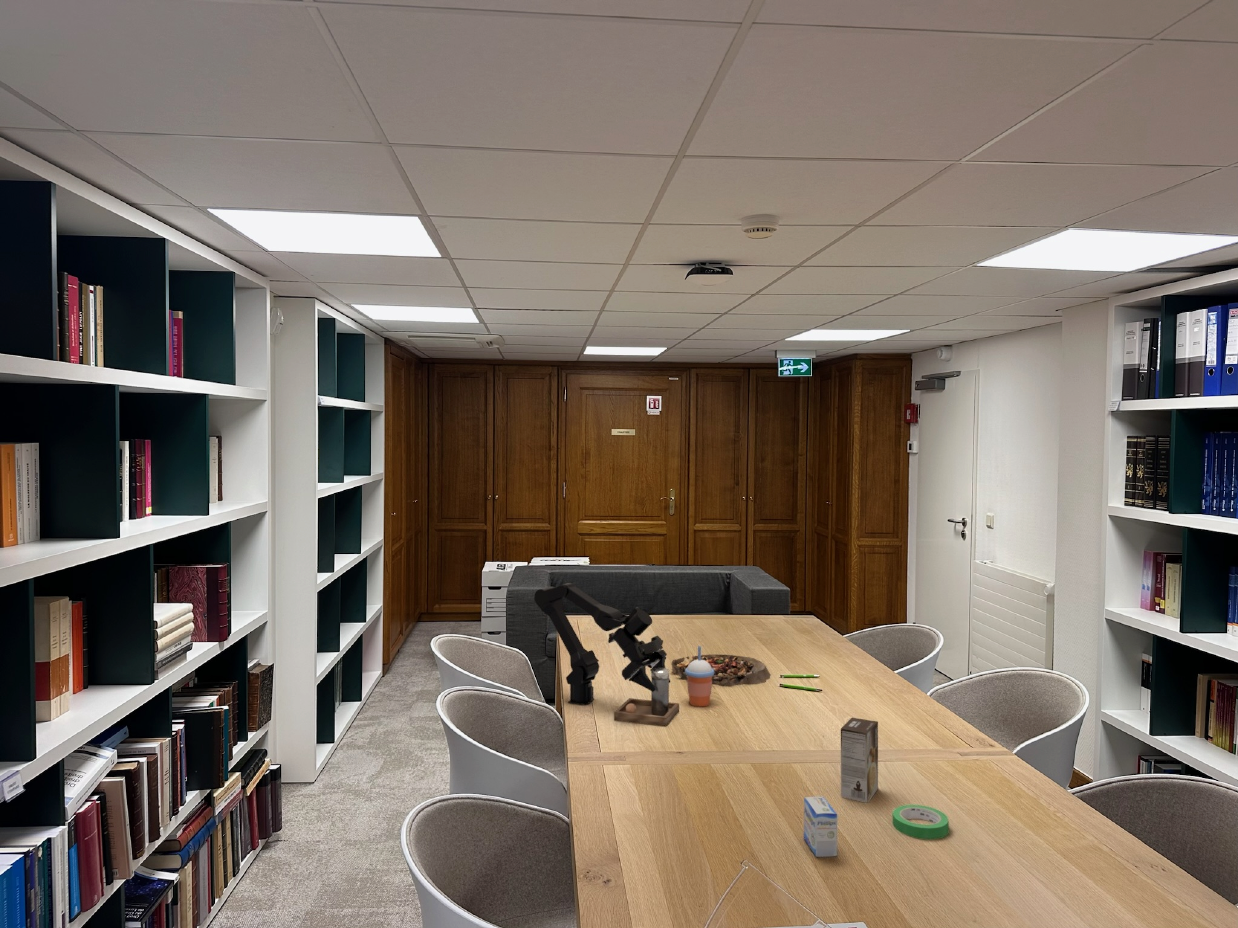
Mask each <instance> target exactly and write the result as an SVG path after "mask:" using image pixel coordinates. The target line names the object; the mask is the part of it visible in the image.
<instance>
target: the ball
mask: <svg viewBox="0 0 1238 928" xmlns="http://www.w3.org/2000/svg"><path fill="white" fill-rule="evenodd" d="M626 712H629V713H635V712H636V706H635V705H634V704H632V703H630V704H628V705H627V706H626Z"/></svg>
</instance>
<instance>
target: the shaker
mask: <svg viewBox="0 0 1238 928" xmlns="http://www.w3.org/2000/svg"><path fill="white" fill-rule="evenodd" d="M669 679H670V670H669V668H667V667H665V668H653V669H652V668H650V681H651V682H652V684H653V685H654V687H655V689H656V690H655V691H654V692H652V691H650V692H651V695H650V696H651V699H650V700H651V714H652V715H656V716H665V715H666V714H667V712H668V711H669V702H670V693H669V692H670V683H669Z"/></svg>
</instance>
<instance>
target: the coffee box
mask: <svg viewBox="0 0 1238 928" xmlns="http://www.w3.org/2000/svg"><path fill="white" fill-rule="evenodd" d="M878 789H879V721H875V720H869V719H864V718H863V719H862V718H858V717H857V718H856V717H851V718H849V719H848V721H846V723H845V724H844V725H842V727H841V728H840V797H841V798H844V799H849V800H853V801H858V802H862V803H866V804H867V803H869V801H870V800H871V798H872V797H873V796H874V795H875V793H876V792H877V791H878Z"/></svg>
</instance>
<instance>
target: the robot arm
mask: <svg viewBox="0 0 1238 928" xmlns="http://www.w3.org/2000/svg"><path fill="white" fill-rule="evenodd" d="M563 598H565V599H566V600H568V601H569V602H571V603H572V604H573V605H575V606H577V607H578V608H580V609H581V610H582V611H584V612H585V613H587V614H588V615H589V616H591V618H592V619H593V621H594V623H595V624H596V625H597V626H598V627H599V628H600V629H601V630H602V631H604V632H610V631H613V630H615V631H614V632H610V633H609V634H608V639H607V640H608V641H607V642H608V644H611V643H613V642H615V643H616V644H617V645H618V647H619V648H620V649H621V651H622V652H623V654H622V656H623V658H624V659H625V658H628V660H629V661H630V662H629V663H628V664H627V665H626V666H625V667H624V668H623V669H622V670H621V676H622V678H623V679H624V680H625V681H627V680H628V681H629V682H632V683H635V684H636V685H640V686H641V687H642V688H645V689H647V690H648V691H650V692H651V691H652V692H654V691H655V690H656V689H655V687H654V685H653V684H652V682H651V678H650V677H649V676H648V674H647V672H646V671H647V670H646V669H647V668H650V669H653V668H666V665H665V664H666V660H667V656H668V653H667V652H666V651H665V650H664V649H663V644H664V640H663V639H662V638H661V637H660V635H655V636H653V637H651V638H650V640H651V641H649V642H645V641H644V640H639V639H638V637H639V636H641V635H642V634H644V632H645V631H646V630H647V629H648V628H649V627H650V626H651V625H652V623H653V619H652V617H651V615H650V614H649V613H647V612H646V611H645V610H642V609H641V608H640V607H639V606H637V607H634V608H633V609H632V611H631V612H630V613H629V614H628V615H627V614H624V613H622V611H621V610H620V609H617V608H614V607H612V606H609V605H606V604H603V603H601V602H599V601H597V600H596V599H594V598H593V597H591V596H590V595H589V594H587V593H585V591H583V590H581V589H579V588H578V587H577V586H576V585H575V584H573V583H571V582H567V583H562V584H561V585H560V586H556V587H555V586H546V587H544V588H539V589H537V590H536V591H535V593H534V597H533V600H534V603H535V605H536V606H537V607H538V608H539V610H540V611H541V612H543V613H544V614H545V615H546V616H548V618H549V619H550V621H551V623H552V625H553V627H554V628H555V631H556V632H557V634H558V636H559V637H560V639H561V641H562V643H563V646H564V648H565V649H566V650H567V652H568V654H569V657H570V658H569V659H570V662H569V663H570V664H569V665H570V668H571V672H570V673H569V674H568V675H567V676H566V677H565V680H566V682H567V684H568V685H569V694H570V695H569V697H570V698H569V699H568V702H567V703H568V704H575V705H583V706H584V705H585V706H586V705H589V704H590V703H591V702H593V700H595V697H594V686H593V681H594V680H595V679H596V675H597V674H599V672H600V671H599V670H600V664H599V662H600V660H599V659H598V658H597V656H596V655H595V651H594V650H592V649H591V650H587V649H586V648H585V647H584V646H583V644H582V643H581V640H580V639H579V637H578V635H577V633H576V631H575V630H574V628H573V626H572V624H571V622H570V621H569V619H568V617H567V615H566V613H565V611H564V609H563ZM622 626H623V627H622ZM636 636H638V637H636ZM646 667H647V668H646ZM670 683H671V679H670V678H669V684H670Z"/></svg>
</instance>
